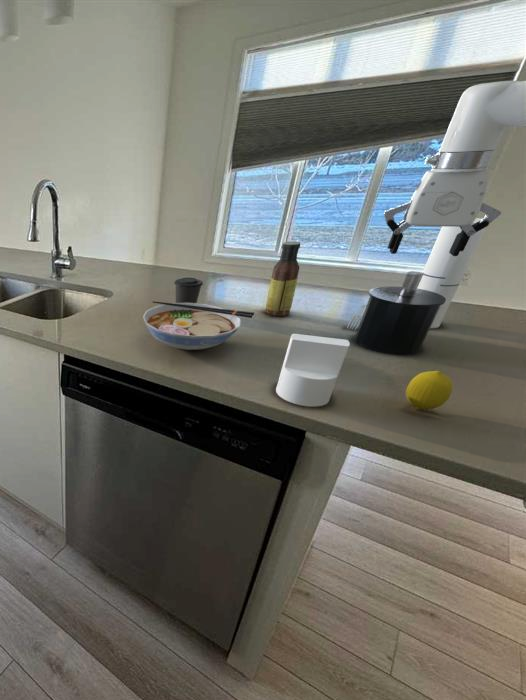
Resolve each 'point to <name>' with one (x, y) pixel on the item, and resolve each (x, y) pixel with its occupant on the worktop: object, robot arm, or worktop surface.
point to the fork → (355, 319)
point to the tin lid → (408, 293)
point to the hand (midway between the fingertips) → (422, 253)
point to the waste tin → (394, 327)
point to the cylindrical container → (447, 267)
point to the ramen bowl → (192, 324)
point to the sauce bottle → (283, 281)
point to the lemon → (429, 390)
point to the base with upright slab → (311, 369)
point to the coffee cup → (187, 290)
